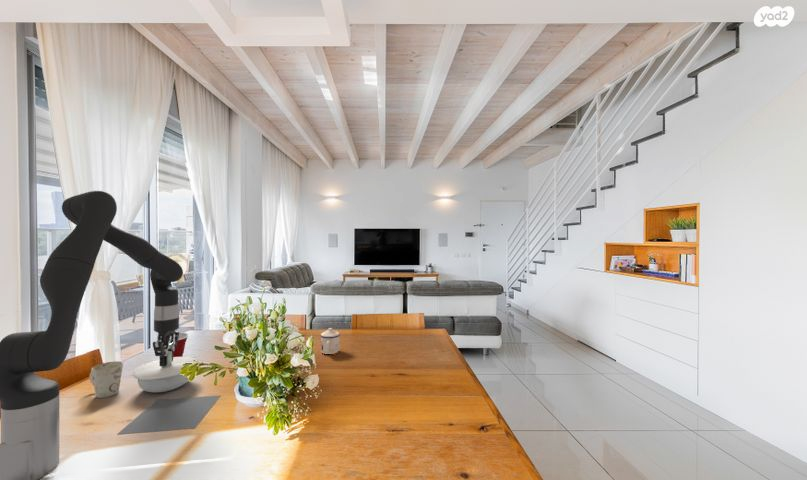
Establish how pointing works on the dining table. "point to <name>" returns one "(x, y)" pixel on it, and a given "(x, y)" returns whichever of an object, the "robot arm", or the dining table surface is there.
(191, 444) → the dining table surface
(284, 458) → the dining table surface
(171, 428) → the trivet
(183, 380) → the cereal bowl
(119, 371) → the mug
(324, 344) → the teacup with lid
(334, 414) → the dining table surface
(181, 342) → the plastic cup
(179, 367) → the lid
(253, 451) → the dining table surface
